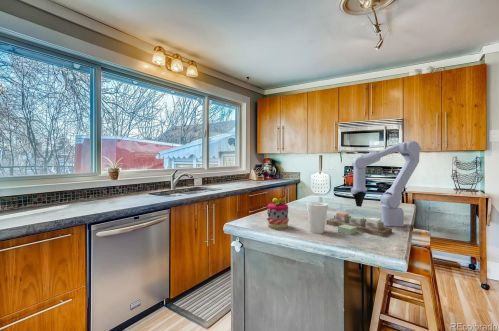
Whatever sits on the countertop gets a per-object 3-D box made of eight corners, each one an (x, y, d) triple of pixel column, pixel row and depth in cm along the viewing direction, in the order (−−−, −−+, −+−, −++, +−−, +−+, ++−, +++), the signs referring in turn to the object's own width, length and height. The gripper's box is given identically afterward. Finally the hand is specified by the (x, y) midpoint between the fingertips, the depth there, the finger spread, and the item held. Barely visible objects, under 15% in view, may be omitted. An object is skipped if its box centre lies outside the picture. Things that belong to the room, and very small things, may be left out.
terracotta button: (348, 219, 130) (348, 213, 130) (344, 220, 127) (344, 214, 127) (340, 217, 134) (340, 211, 134) (336, 218, 131) (336, 213, 131)
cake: (263, 227, 125) (263, 197, 125) (272, 222, 134) (272, 194, 134) (284, 230, 120) (284, 199, 120) (291, 225, 129) (291, 196, 129)
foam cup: (323, 235, 113) (324, 206, 112) (303, 232, 117) (304, 204, 117) (329, 230, 121) (329, 203, 120) (310, 227, 125) (310, 201, 125)
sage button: (363, 223, 124) (364, 217, 124) (359, 225, 121) (359, 219, 121) (355, 222, 128) (355, 216, 128) (350, 223, 125) (351, 217, 125)
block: (356, 232, 118) (356, 226, 118) (350, 234, 114) (350, 229, 114) (344, 229, 122) (344, 224, 122) (337, 231, 118) (338, 226, 118)
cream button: (381, 225, 118) (381, 219, 118) (377, 227, 115) (377, 220, 115) (371, 223, 122) (371, 217, 121) (367, 225, 119) (367, 218, 119)
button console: (392, 232, 117) (392, 222, 117) (383, 236, 111) (383, 226, 111) (336, 220, 138) (336, 212, 138) (326, 224, 132) (326, 215, 132)
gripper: (357, 179, 140) (357, 203, 140) (345, 180, 130) (345, 207, 130) (371, 179, 135) (370, 205, 135) (358, 181, 125) (358, 209, 125)
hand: (359, 206), depth 132 cm, fingers closed
